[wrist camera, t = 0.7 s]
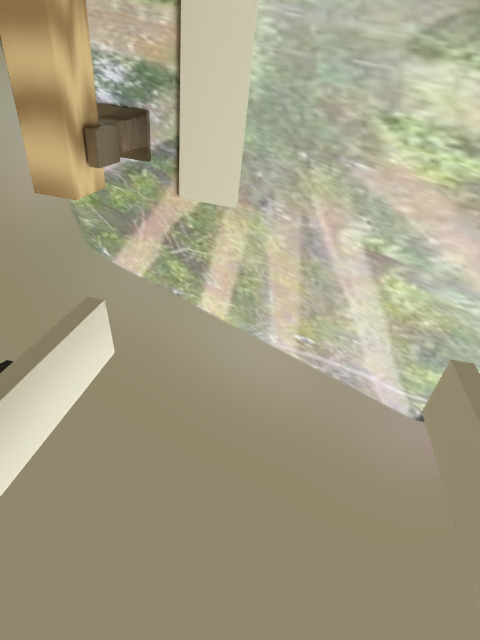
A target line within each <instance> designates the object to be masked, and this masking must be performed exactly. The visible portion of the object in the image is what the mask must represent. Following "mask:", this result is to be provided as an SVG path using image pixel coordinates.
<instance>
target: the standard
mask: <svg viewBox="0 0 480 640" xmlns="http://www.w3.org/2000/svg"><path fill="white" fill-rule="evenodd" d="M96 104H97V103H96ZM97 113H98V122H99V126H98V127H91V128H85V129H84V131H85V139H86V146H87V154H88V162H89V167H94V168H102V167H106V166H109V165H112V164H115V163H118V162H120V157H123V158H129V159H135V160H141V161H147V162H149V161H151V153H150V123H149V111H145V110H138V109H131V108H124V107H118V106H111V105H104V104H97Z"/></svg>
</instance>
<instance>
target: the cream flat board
mask: <svg viewBox="0 0 480 640" xmlns="http://www.w3.org/2000/svg"><path fill="white" fill-rule="evenodd" d="M258 1H259V0H181V56H180V155H179V198H182V199H188V200H193V201H199V202H205V203H211V204H217V205H222V206H228V207H234V208H236V207H237V202H238V192H239V182H240V173H241V163H242V154H243V144H244V135H245V125H246V116H247V106H248V96H249V87H250V77H251V68H252V58H253V49H254V39H255V30H256V20H257V10H258Z"/></svg>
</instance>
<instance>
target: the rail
mask: <svg viewBox="0 0 480 640" xmlns="http://www.w3.org/2000/svg"><path fill="white" fill-rule="evenodd" d="M0 36H1V41H2V45H3V50H4V55H5V59H6V64H7V68H8V73H9V77H10V82H11V86H12V91H13V95H14V100H15V105H16V109H17V114H18V118H19V122H20V127H21V131H22V136H23V141H24V146H25V150H26V154H27V159H28V164H29V168H30V173H31V177H32V182H33V186H34V191H35V193H39V194H45V195H51V196H56V197H62V198H67V199H73V200H78V199H80V198H82V197H85V196H87V195H89V194H92V193H94V192H96V191H99V190H101V189H103V188H105V179H104V169H103V167H102V168H94V167H89V162H88V154H87V146H86V139H85V131H84V129H85V128H91V127H98V126H99V122H98V113H97V104H96V94H95V85H94V75H93V66H92V57H91V47H90V38H89V28H88V19H87V10H86V0H0Z"/></svg>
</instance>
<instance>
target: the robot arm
mask: <svg viewBox="0 0 480 640" xmlns="http://www.w3.org/2000/svg"><path fill="white" fill-rule="evenodd" d="M113 354H114V346H113V341H112V336H111V331H110V325H109V320H108V315H107V310H106V304H105V300H103V299H97V298H91V297H86V298H85V299H84V300H83V301H82V302H81V303H80V304H78V305H77V306H76V307H75V308H74V309H73V310H72V311H70V312H69V313H68V314H67V315H66V316H65V317H64V318H63V319H62V320H60V321H59V322H58V323H57V324H56V325H55V326H53V327H52V328H51V329H50V330H49V331H48V332H47V333H46V334H44V335H43V336H42V337H41V338H40V339H39V340H38V341H37V342H35V343H34V344H33V345H32V346H31V347H30V348H29V349H27V350H26V351H25V352H24V353H23V354H22V355H21V356H20V357H18V358H17V359H16V360H15V361H14V362H13V361H8V360H7V361H5V362H3V363H1V364H0V495H2V494H3V492H4V491H5V490H6V489H7V487H8V486H9V485H10V484H11V482H12V481H13V480H14V478H15V477H16V476H17V475H18V473H19V472H20V471H21V470H22V468H23V467H24V466H25V464H26V463H27V462H28V461H29V460H30V458H31V457H32V456H33V454H34V453H35V452H36V451H37V449H38V448H39V447H40V446H41V444H42V443H43V442H44V441H45V439H46V438H47V437H48V436H49V434H50V433H51V432H52V431H53V429H54V428H55V427H56V426H57V424H58V423H59V422H60V421H61V419H62V418H63V417H64V416H65V414H66V413H67V412H68V410H69V409H70V407H72V405H73V404H74V403H75V402H76V400H77V399H78V398H79V396H80V395H81V394H82V393H83V391H84V390H85V389H86V388H87V387H88V385H89V384H90V383H91V381H92V380H93V379H94V378H95V376H96V375H97V374H98V373H99V371H100V370H101V369H102V367H103V366H104V365H105V364H106V363H107V361H108V360H109V359H110V358H111V356H112V355H113ZM422 414H423V417H424V420H425V424H426V427H427V430H428V434H429V437H430V441H431V444H432V448H433V451H434V454H435V458H436V461H437V465H438V468H439V472H440V475H441V478H442V482H443V485H444V489H445V492H446V495H447V499H448V502H449V506H450V509H451V513H452V516H453V519H454V523H455V526H456V530H457V533H458V537H459V540H460V543H461V547H462V550H463V554H464V557H465V560H466V564H467V567H468V570H469V574H470V577H471V581H472V584H473V588H474V591H475V595H476V598H477V601H478V604H479V608H480V374H479V372H478V370H477V368H476V366H475V365H474V364H473V363H467V362H461V361H455V360H450V362H449V364H448V366H447V368H446V369H445V371H444V373H443V375H442V377H441V378H440V380H439V382H438V384H437V386H436V388H435V389H434V391H433V393H432V395H431V397H430V398H429V400H428V402H427V404H426V406H425V407H424V409H423V411H422Z"/></svg>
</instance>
